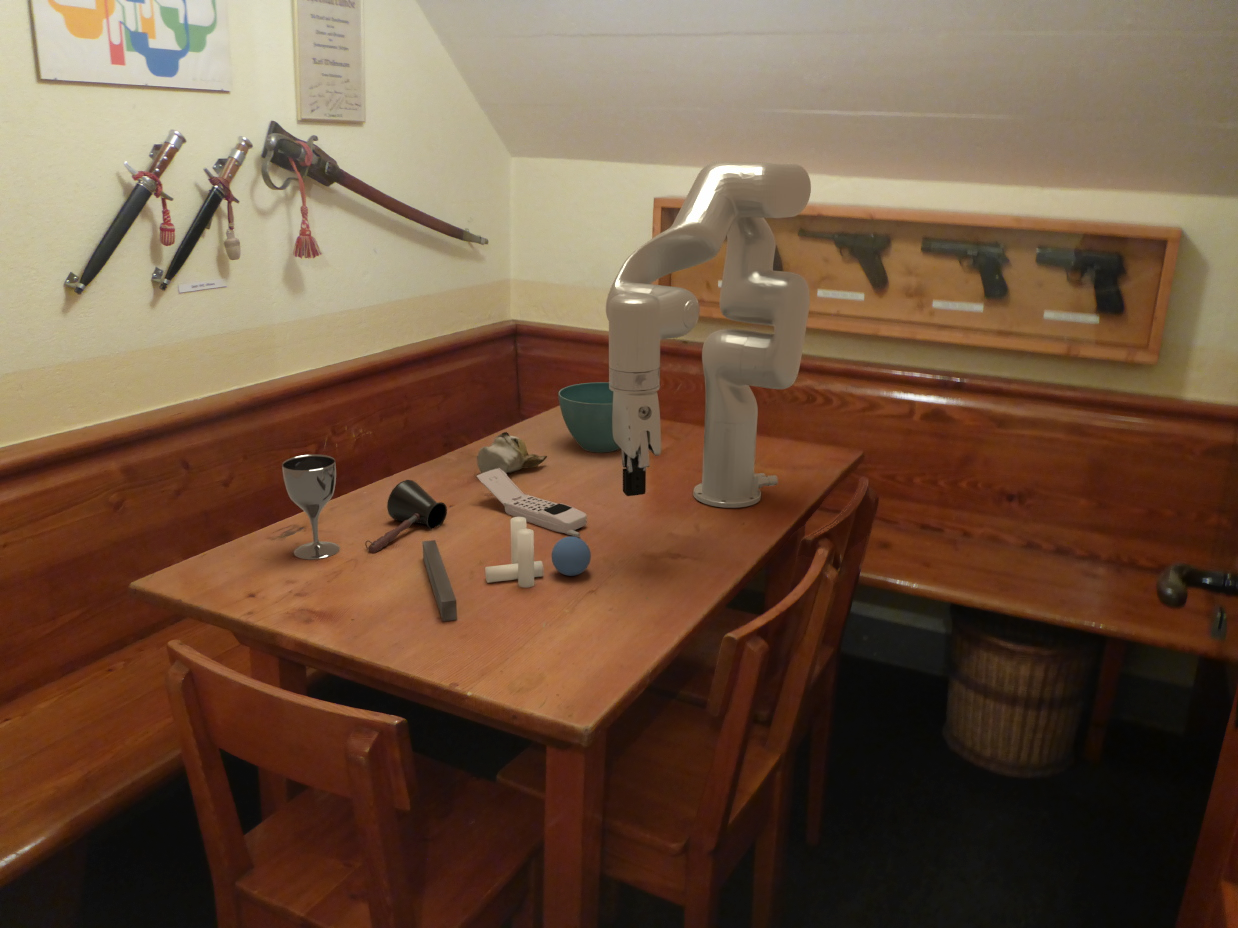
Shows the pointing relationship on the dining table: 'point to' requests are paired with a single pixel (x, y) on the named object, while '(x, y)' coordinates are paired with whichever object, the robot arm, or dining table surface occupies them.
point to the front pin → (509, 572)
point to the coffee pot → (410, 511)
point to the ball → (571, 556)
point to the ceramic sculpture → (507, 455)
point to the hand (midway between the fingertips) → (634, 493)
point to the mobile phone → (532, 505)
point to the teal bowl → (589, 415)
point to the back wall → (439, 581)
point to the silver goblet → (311, 496)
